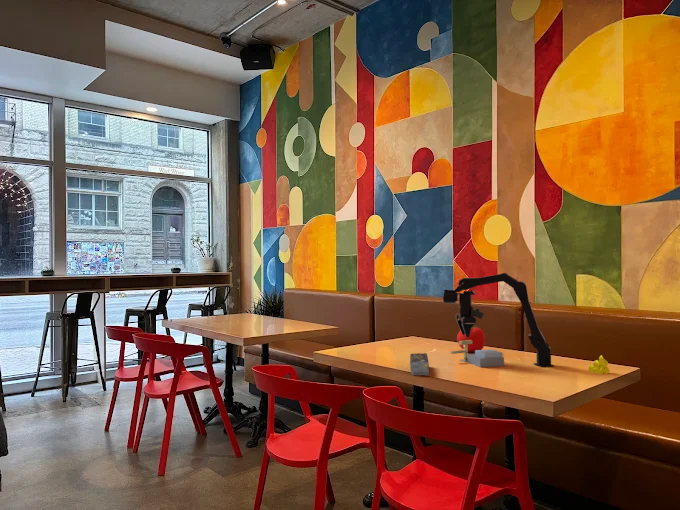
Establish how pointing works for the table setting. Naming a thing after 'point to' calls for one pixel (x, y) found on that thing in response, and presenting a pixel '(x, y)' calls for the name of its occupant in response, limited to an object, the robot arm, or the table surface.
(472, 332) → the tomato
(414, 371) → the beverage carton
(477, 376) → the table surface
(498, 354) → the cover
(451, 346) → the table surface
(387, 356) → the table surface
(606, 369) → the yellow crystal cluster
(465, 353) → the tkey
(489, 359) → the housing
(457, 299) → the robot arm
